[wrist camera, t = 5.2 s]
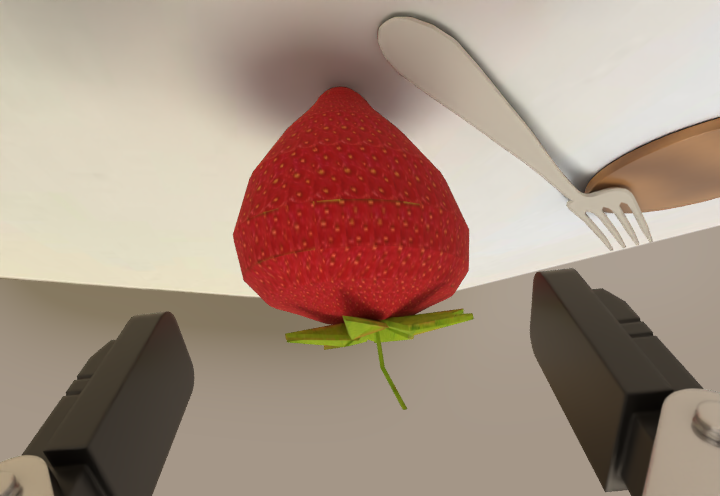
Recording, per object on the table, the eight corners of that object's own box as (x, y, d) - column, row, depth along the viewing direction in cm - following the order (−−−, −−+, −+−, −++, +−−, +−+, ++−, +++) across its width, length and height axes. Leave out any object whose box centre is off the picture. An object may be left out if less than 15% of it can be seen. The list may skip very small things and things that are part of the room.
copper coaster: (683, 105, 19) (686, 116, 18) (919, 99, 20) (924, 110, 20) (548, 210, 29) (550, 218, 29) (709, 201, 30) (711, 208, 30)
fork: (436, -16, 12) (443, 45, 11) (654, 213, 29) (661, 241, 29) (342, 48, 14) (344, 102, 13) (598, 226, 31) (604, 252, 31)
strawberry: (312, -37, 11) (353, 425, 8) (482, 88, 16) (544, 393, 13) (190, 89, 15) (187, 432, 12) (359, 156, 20) (386, 405, 17)
